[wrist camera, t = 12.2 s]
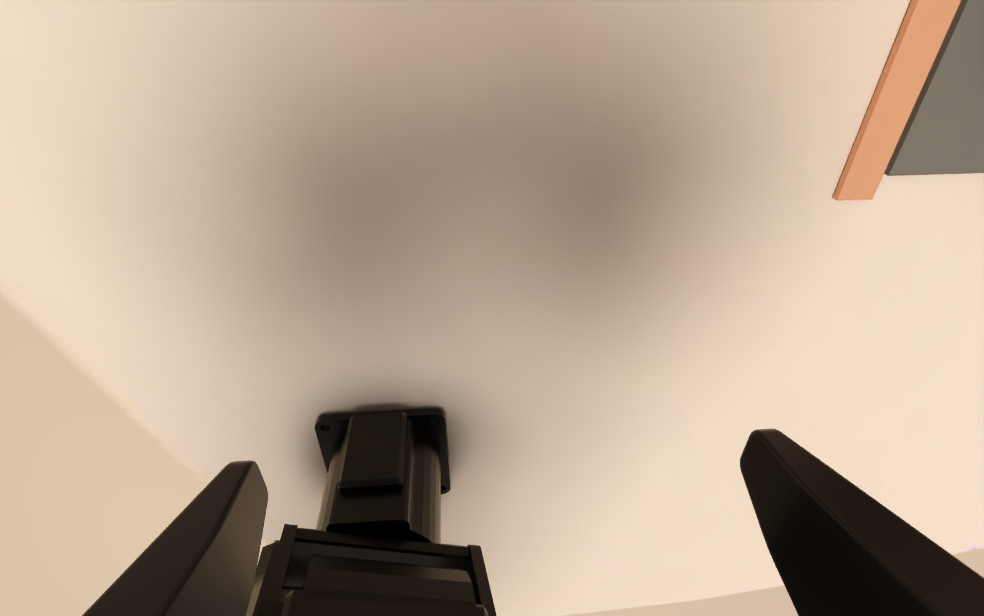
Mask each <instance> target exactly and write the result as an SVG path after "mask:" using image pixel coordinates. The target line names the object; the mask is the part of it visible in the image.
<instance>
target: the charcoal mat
mask: <svg viewBox="0 0 984 616" xmlns="http://www.w3.org/2000/svg"><path fill="white" fill-rule="evenodd" d="M884 173H885V174H886V175H888V176H896V175H929V174H962V173H984V0H961V2H960V4H959V6H958V8H957V11H956V13H955V15H954V17H953V20H952V22H951V24H950V26H949V29H948V31H947V33H946V35H945V38H944V40H943V42H942V44H941V47H940V49H939V51H938V53H937V55H936V58H935V60H934V62H933V64H932V67H931V69H930V71H929V73H928V76H927V78H926V80H925V82H924V85H923V87H922V89H921V91H920V94H919V96H918V98H917V100H916V103H915V105H914V107H913V109H912V112H911V114H910V116H909V118H908V120H907V123H906V125H905V127H904V129H903V132H902V134H901V136H900V138H899V141H898V143H897V145H896V147H895V150H894V152H893V154H892V156H891V159H890V161H889V163H888V165H887V168H886V170H885V172H884Z"/></svg>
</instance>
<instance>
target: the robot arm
mask: <svg viewBox="0 0 984 616" xmlns="http://www.w3.org/2000/svg"><path fill="white" fill-rule="evenodd" d="M433 418H438V419H433ZM324 424H327V425H324ZM315 431H316V434H317V438H318V441H319V445H320V448H321V452H322V455H323V459H324V462H325V466H326V469H327V473H328V476H327V481H326V485H325V490H324V495H323V499H322V504H321V509H320V514H319V518H318V523H317V528H316V530H314V529H305V528H297V527H298V525H289V524H285V525H284V528H283V532H282V535H281V539H280V541H279V540H277V541H275V542H274V543H272V544H270V545H267V546H265V547H263V549H262V552H261V555H260V559H259V562H258V557H259V551H260V545H261V538H262V532H263V526H264V520H265V514H266V508H267V502H268V492H267V487H266V485H265V482H264V480H263V477H262V475H261V472H260V470H259V467H258V465H257V463H256V462H254V461H235V462H231V463H229V464H228V465H226V466H225V467H224V468H223V469H222V470H221V472H220V473H219V474H218V475H217V476H216V477H215V478H214V479H213V480H212V481H211V482H210V483H209V484H208V485H207V486H206V487H205V488H204V489H203V490H202V491H201V492H200V493H199V494H198V495H197V497H196V498H195V499H194V500H193V501H192V502H191V503H190V504H189V505H188V506H187V507H186V508H185V509H184V510H183V511H182V512H181V513H180V514H179V515H178V516H177V517H176V519H174V520H173V522H172V523H171V524H170V525H169V526H168V527H167V528H166V529H165V530H164V531H163V532H162V533H161V534H160V535H159V536H158V537H157V538H156V539H155V540H154V541H153V542H152V543H151V544H150V546H149V547H148V548H147V549H146V550H145V551H144V552H143V553H142V554H141V555H140V556H139V557H138V558H137V559H136V560H135V561H134V562H133V563H132V564H131V565H130V566H129V567H128V568H127V569H126V570H125V572H124V573H123V574H122V575H121V576H120V577H119V578H118V579H117V580H116V581H115V582H114V583H113V584H112V585H111V586H110V587H109V588H108V589H107V590H106V591H105V592H104V593H103V594H102V595H101V596H100V598H99V599H98V600H97V601H96V602H95V603H94V604H93V605H92V606H91V607H90V608H89V609H88V610H87V611H86V612H85V613H84V614H83V615H82V616H496V612H495V607H494V603H493V599H492V594H491V590H490V586H489V581H488V577H487V573H486V568H485V564H484V560H483V556H482V551H481V547H480V546H477V545H468V546H458V545H449V544H440V518H441V494H444V493H447V492H449V491H450V470H449V456H448V443H447V429H446V415H445V412H444V411H443V410H440V409H418V410H401V411H383V412H365V413H348V414H330V415H321V416H319V417H318V418H317V420H316V423H315ZM740 468H741V472H742V475H743V478H744V481H745V484H746V487H747V490H748V493H749V495H750V498H751V501H752V504H753V507H754V510H755V513H756V516H757V519H758V522H759V525H760V528H761V530H762V533H763V536H764V539H765V542H766V544H767V547H768V549H769V552H770V554H771V556H772V559H773V561H774V563H775V565H776V568H777V570H778V572H779V574H780V576H781V578H782V581H783V583H784V585H785V587H786V589H787V591H788V593H789V596H790V598H791V600H792V602H793V604H794V607H795V609H796V611H797V613H798V615H799V616H984V578H983V577H982V576H980V575H979V574H978V573H976V572H975V571H973V570H972V569H971V568H969V567H968V566H966V565H965V564H964V563H962V562H961V561H960V560H958V559H957V558H955V557H954V556H953V555H951V554H950V553H948V552H947V551H946V550H944V549H943V548H941V547H940V546H939V545H937V544H936V543H935V542H933V541H932V540H930V539H929V538H928V537H926V536H925V535H923V534H922V533H921V532H919V531H918V530H916V529H915V528H914V527H912V526H911V525H910V524H908V523H907V522H905V521H904V520H903V519H901V518H900V517H898V516H897V515H896V514H894V513H893V512H891V511H890V510H889V509H887V508H886V507H885V506H883V505H882V504H880V503H879V502H878V501H876V500H875V499H873V498H872V497H871V496H869V495H868V494H866V493H865V492H864V491H862V490H861V489H859V488H858V487H857V486H855V485H854V484H853V483H851V482H850V481H848V480H847V479H846V478H844V477H843V476H841V475H840V474H839V473H837V472H836V471H834V470H833V469H832V468H830V467H829V466H828V465H826V464H825V463H823V462H822V461H821V460H819V459H818V458H816V457H815V456H814V455H812V454H811V453H809V452H808V451H807V450H805V449H804V448H803V447H801V446H800V445H798V444H797V443H796V442H794V441H793V440H791V439H790V438H789V437H787V436H786V435H784V434H783V433H782V432H780V431H778V430H776V429H760V430H754V431H753V432H752V433H751V434H750V436H749V439H748V441H747V443H746V446H745V448H744V450H743V453H742V455H741V458H740ZM257 562H258V566H257Z"/></svg>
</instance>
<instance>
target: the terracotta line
mask: <svg viewBox="0 0 984 616" xmlns="http://www.w3.org/2000/svg"><path fill="white" fill-rule="evenodd" d="M960 2H961V0H911V3H910V5H909V8H908V11H907V13H906V16H905V18H904V21H903V23H902V26H901V28H900V31H899V33H898V36H897V38H896V41H895V43H894V46H893V48H892V51H891V53H890V56H889V58H888V61H887V63H886V66H885V68H884V71H883V73H882V76H881V78H880V81H879V83H878V86H877V88H876V91H875V93H874V96H873V98H872V101H871V103H870V106H869V108H868V111H867V113H866V116H865V118H864V121H863V123H862V126H861V128H860V131H859V133H858V136H857V138H856V141H855V143H854V146H853V148H852V151H851V153H850V156H849V158H848V161H847V163H846V166H845V168H844V171H843V173H842V176H841V178H840V181H839V183H838V186H837V188H836V191H835V193H834V196H833V198H834V199H836V200H837V201H838V200H869V199H873V197H874V194H875V192H876V190H877V188H878V185H879V183H880V181H881V179H882V176H883V174H884V172H885V170H886V168H887V165H888V163H889V161H890V159H891V156H892V154H893V152H894V150H895V147H896V145H897V143H898V141H899V138H900V136H901V134H902V132H903V129H904V127H905V125H906V123H907V120H908V118H909V116H910V114H911V112H912V109H913V107H914V105H915V103H916V100H917V98H918V96H919V94H920V91H921V89H922V87H923V85H924V82H925V80H926V78H927V76H928V73H929V71H930V69H931V67H932V64H933V62H934V60H935V58H936V55H937V53H938V51H939V49H940V47H941V44H942V42H943V40H944V38H945V35H946V33H947V31H948V29H949V26H950V24H951V22H952V20H953V17H954V15H955V13H956V11H957V8H958V6H959V4H960Z"/></svg>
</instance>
